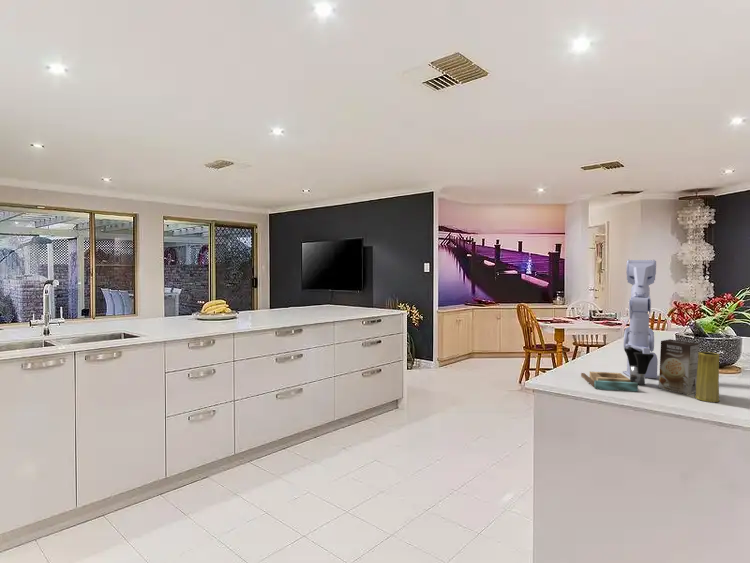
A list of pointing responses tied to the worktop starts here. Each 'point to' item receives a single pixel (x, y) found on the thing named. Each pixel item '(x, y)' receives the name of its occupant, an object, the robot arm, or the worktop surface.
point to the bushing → (636, 375)
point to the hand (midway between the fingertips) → (637, 371)
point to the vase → (707, 377)
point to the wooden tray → (608, 377)
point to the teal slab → (611, 384)
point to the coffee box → (678, 366)
